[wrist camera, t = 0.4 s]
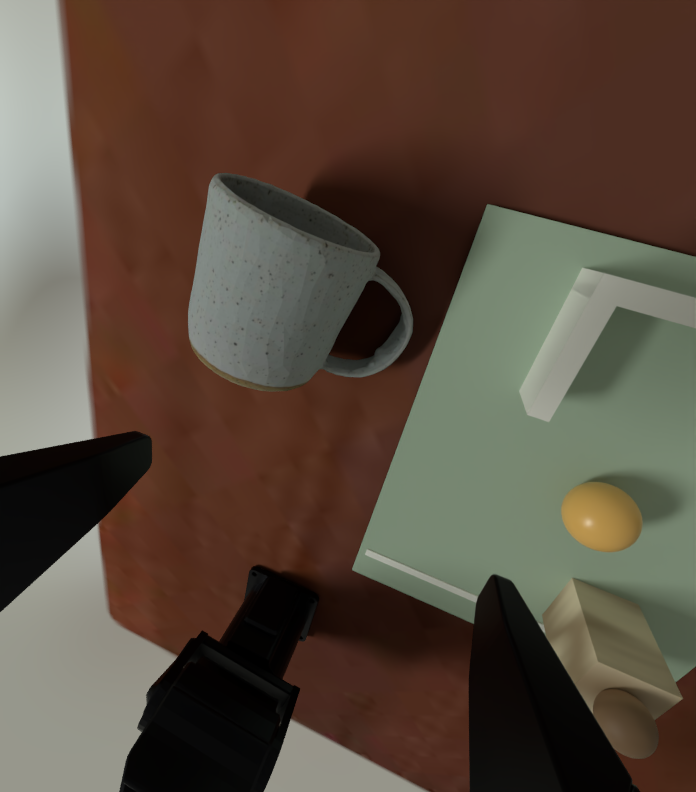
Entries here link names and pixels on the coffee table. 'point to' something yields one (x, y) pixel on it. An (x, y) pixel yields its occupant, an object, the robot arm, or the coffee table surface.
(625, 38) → the coffee table surface
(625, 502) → the ball
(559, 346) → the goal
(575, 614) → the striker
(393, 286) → the ceramic mug
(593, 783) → the robot arm
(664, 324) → the pitch mat
